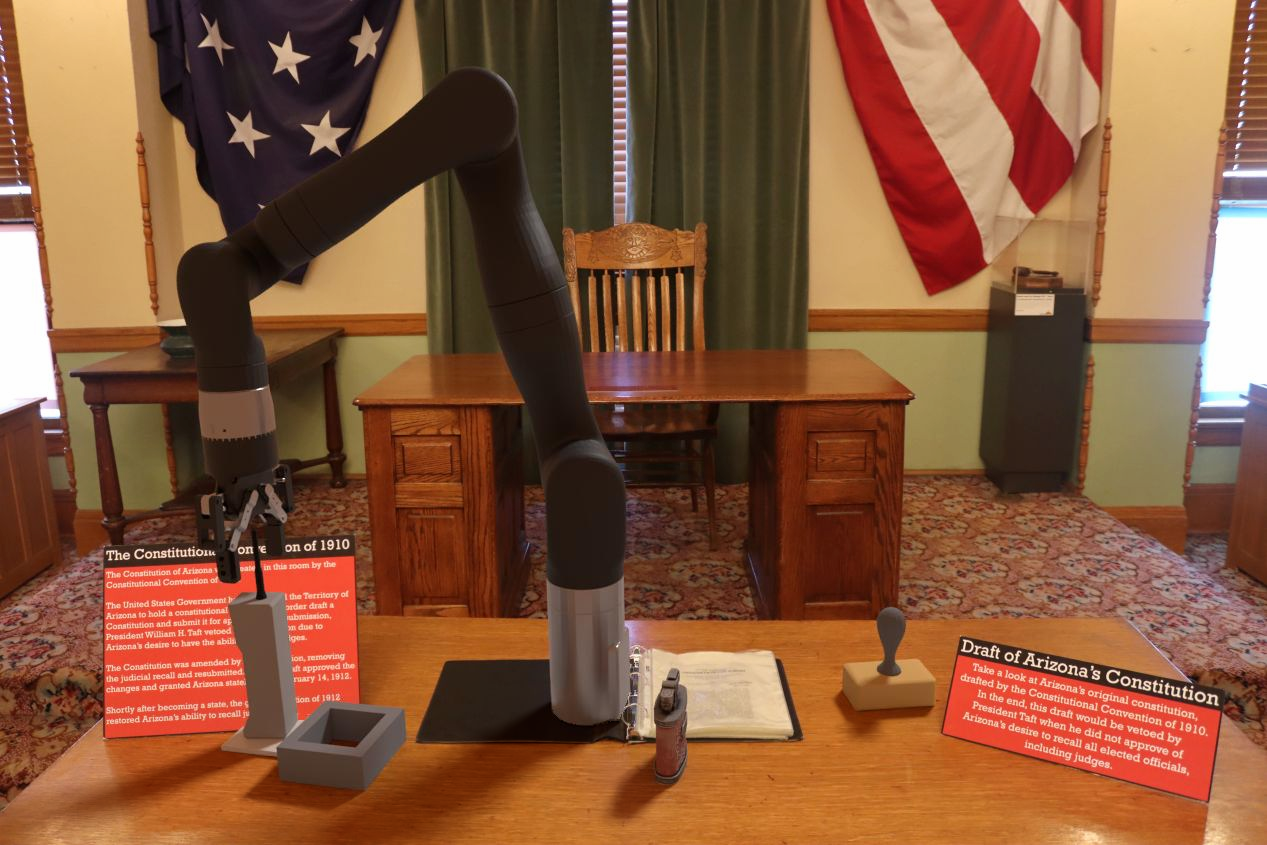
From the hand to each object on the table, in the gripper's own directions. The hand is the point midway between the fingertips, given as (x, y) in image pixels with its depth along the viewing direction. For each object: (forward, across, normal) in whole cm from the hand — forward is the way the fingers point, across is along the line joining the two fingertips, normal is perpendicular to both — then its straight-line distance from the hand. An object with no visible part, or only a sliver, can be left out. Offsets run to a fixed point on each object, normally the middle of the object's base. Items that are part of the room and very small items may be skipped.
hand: (254, 567), depth 104 cm
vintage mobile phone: (+20, 0, 0) cm, 20 cm away
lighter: (+21, +3, -47) cm, 52 cm away
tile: (+21, 0, 0) cm, 21 cm away
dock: (+21, -3, -11) cm, 24 cm away
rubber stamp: (+21, +22, -71) cm, 77 cm away
